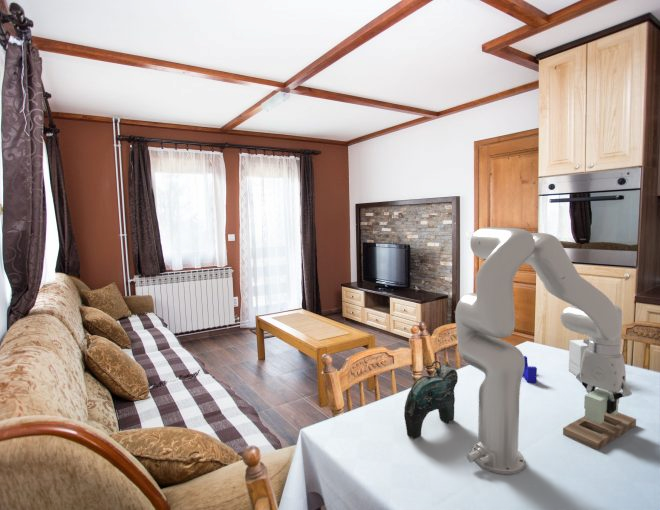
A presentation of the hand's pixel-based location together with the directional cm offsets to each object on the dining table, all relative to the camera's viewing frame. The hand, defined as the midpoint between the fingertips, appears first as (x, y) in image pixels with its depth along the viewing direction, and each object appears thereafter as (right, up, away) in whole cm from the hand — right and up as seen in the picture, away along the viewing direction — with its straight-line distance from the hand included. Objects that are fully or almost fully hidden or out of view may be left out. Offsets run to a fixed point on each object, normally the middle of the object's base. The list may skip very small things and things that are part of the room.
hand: (601, 408), depth 112 cm
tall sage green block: (0, -2, 0) cm, 2 cm away
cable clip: (-3, -3, +38) cm, 38 cm away
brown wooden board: (0, -7, +1) cm, 7 cm away
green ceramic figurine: (-48, -8, +5) cm, 48 cm away
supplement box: (+20, -2, +38) cm, 43 cm away
